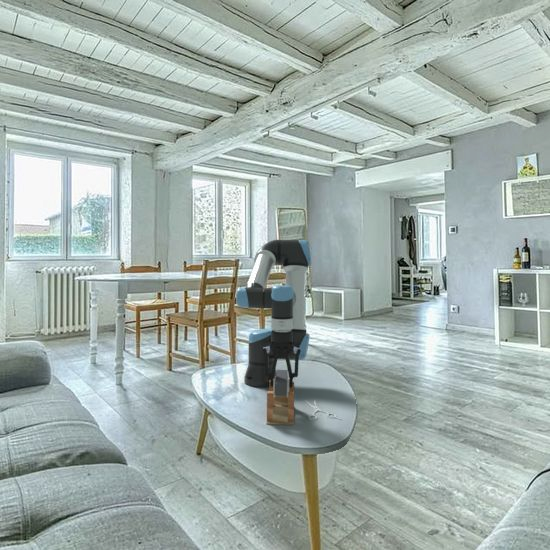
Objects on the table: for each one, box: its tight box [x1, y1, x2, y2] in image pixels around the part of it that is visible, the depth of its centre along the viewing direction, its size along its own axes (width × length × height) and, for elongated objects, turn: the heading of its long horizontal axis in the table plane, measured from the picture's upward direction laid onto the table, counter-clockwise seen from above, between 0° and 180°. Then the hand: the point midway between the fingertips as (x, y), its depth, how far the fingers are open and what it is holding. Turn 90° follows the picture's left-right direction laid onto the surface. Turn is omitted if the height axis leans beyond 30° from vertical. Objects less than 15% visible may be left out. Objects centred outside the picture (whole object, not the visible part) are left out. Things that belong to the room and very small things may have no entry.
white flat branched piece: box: [305, 399, 341, 421], centre depth 140 cm, size 11×1×20 cm
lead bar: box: [275, 369, 289, 396], centre depth 134 cm, size 15×4×4 cm, turn 177°
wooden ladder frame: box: [265, 380, 295, 426], centre depth 134 cm, size 16×9×10 cm, turn 177°
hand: (281, 395), depth 135 cm, fingers closed on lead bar, 4 cm apart
